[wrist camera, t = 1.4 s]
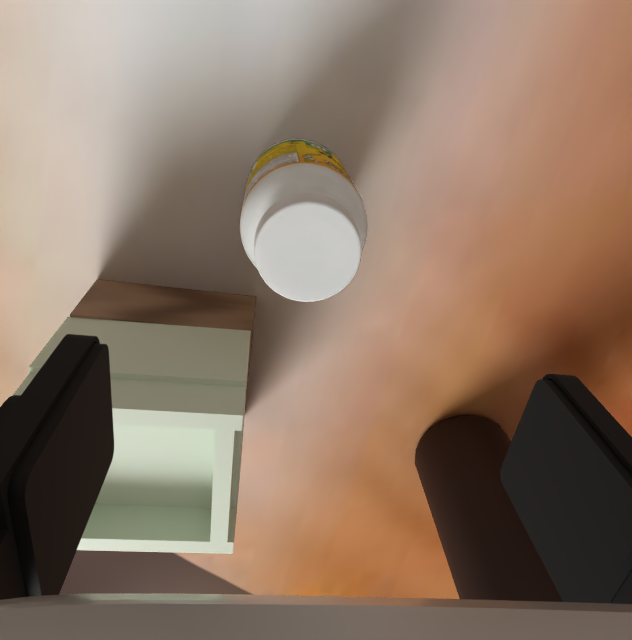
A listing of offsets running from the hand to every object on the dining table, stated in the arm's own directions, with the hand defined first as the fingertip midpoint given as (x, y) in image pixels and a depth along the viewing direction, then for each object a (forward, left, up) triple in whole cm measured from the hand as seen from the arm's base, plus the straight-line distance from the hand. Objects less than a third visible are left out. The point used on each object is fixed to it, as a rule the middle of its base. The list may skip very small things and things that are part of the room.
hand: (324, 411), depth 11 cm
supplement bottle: (0, 0, -19) cm, 19 cm away
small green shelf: (+6, +11, -14) cm, 19 cm away
